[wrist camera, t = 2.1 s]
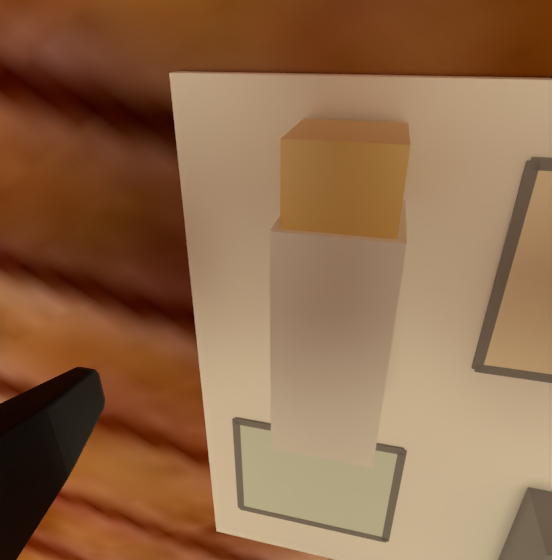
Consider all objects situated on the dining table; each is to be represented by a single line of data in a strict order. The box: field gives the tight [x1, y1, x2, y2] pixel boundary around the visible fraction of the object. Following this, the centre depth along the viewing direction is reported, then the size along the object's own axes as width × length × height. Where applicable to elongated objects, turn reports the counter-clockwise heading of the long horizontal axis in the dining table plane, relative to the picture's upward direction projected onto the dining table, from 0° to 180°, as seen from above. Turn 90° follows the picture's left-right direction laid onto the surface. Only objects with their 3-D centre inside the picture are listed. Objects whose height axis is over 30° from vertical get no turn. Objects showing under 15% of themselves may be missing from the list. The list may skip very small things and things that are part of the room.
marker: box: [269, 119, 411, 468], centre depth 12 cm, size 9×3×3 cm, turn 1°
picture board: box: [169, 71, 552, 560], centre depth 15 cm, size 20×18×1 cm
